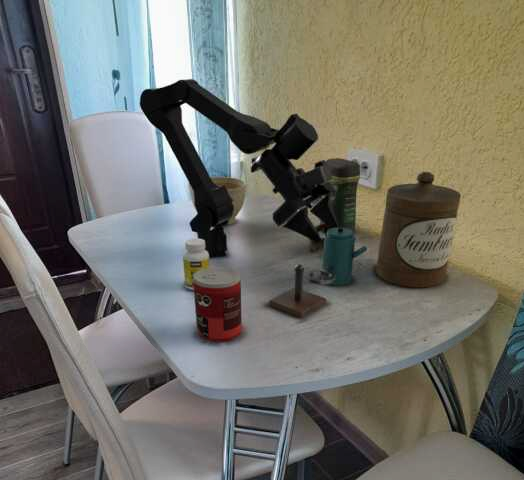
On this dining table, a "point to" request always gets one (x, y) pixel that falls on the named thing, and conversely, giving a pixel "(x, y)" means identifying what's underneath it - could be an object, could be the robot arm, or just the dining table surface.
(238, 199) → the planter bowl
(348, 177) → the coffee jar
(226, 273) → the canned food
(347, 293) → the dining table surface
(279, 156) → the robot arm
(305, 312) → the wooden peg stand
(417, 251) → the wooden container
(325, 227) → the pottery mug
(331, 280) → the kettle
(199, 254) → the supplement bottle
